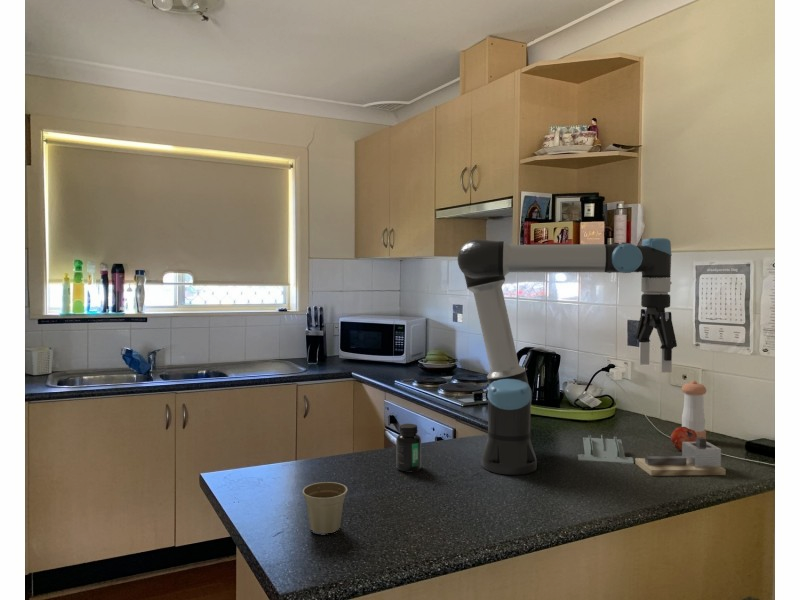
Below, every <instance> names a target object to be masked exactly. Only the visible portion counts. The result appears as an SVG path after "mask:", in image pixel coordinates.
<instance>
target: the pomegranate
mask: <svg viewBox="0 0 800 600" xmlns="http://www.w3.org/2000/svg"><path fill="white" fill-rule="evenodd" d="M696 437H697V434H696V432H695V431H694V430H691V429H688V428H687V427H682V426H678V427H675V429H674V430H673V431H672V433H671V435H670V439H671V442H672V443H673V446H674V448H675V449H677V450H679V451H681V452H682V442H696Z"/></svg>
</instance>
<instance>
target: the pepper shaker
mask: <svg viewBox="0 0 800 600" xmlns="http://www.w3.org/2000/svg"><path fill="white" fill-rule="evenodd" d="M706 388H707V387H706V386H705V385H703V384H702V383H698V382H697V381H696V380H691V382H687V383H684V384H682V386H681V391H682V393H684V395H683V398H684V399H683V410H682V415H681V427H687V428H688V429H691V430H694V431H695V432H696V434H697V437H703V438H705V439H706V440H707V431H706V428H705V426H706V418H705V411H704V395H705V394H707V389H706Z"/></svg>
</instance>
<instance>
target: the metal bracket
mask: <svg viewBox="0 0 800 600" xmlns="http://www.w3.org/2000/svg"><path fill="white" fill-rule="evenodd" d="M600 437H601V438H599V437H592V435H591V434H590V435H588V437H582V442H583V448H584V449H583V450H584V453H583V454H582V453H581V454H577V459H578V462H579V461H581V462H598V463H610V464H611V463H612V464H613V463H615V464H623V465H624V464H625V465H634V464H635V461H634V458H633V457H631V456H630V457H628V456H626V455H625V452H624V447H623V442H622V439H617V438H618V437H617V436H613V438H603V434H601V435H600Z"/></svg>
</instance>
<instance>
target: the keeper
mask: <svg viewBox="0 0 800 600" xmlns="http://www.w3.org/2000/svg"><path fill="white" fill-rule="evenodd" d="M706 442H707V438H706V439H705V438H703V437H696V447H698V448H706ZM686 459H687V458H685V457H684V456H682V455H670V456H669V455H658V456H656V455H654V456H653V455H651V456H650V455H649V456H648V455H647V456H644V457H643V458H640V457H635V459H634V460H635V461H634V464H635V465H637V466H638V467H639V468H640V469H642V470H643V471H644V472H646V473H647V474H648V475H650V476H651V477H653V476H654V477H657V476H658V477H659V476H661V477H662V476H666V477H667V476H726V473H727V472H726V471H727V470H726V468H725V467H723V466H721V467H719V468H695V467H693V466H691V465H690V464H688V463H687V462H686Z"/></svg>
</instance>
